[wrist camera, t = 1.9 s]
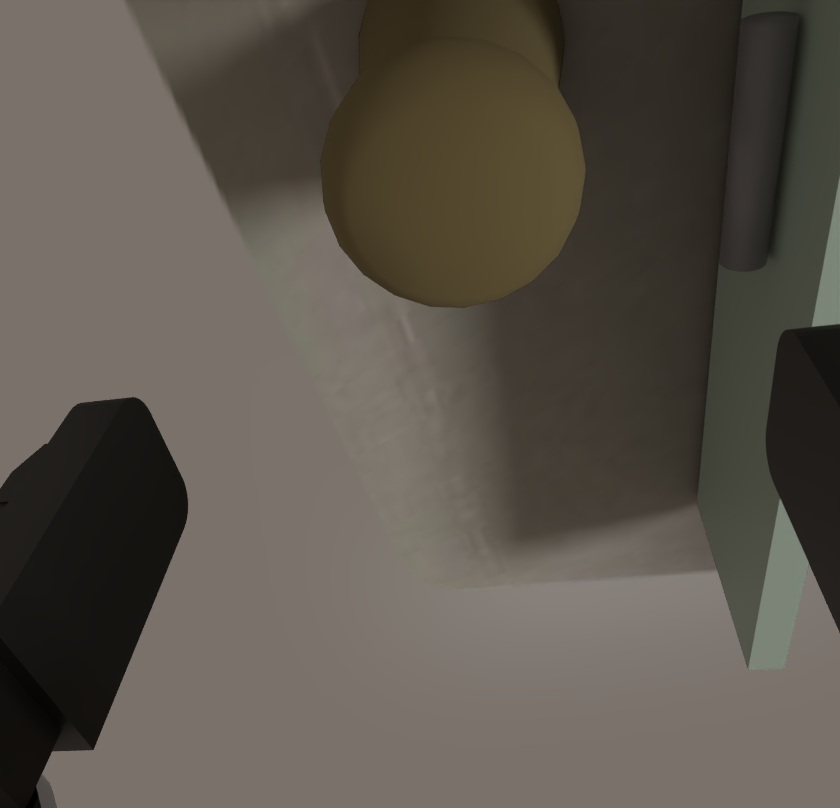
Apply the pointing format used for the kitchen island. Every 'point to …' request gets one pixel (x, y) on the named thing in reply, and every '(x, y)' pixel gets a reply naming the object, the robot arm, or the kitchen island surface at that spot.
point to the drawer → (769, 300)
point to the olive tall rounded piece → (454, 150)
